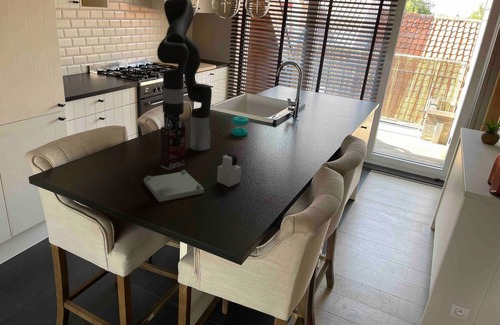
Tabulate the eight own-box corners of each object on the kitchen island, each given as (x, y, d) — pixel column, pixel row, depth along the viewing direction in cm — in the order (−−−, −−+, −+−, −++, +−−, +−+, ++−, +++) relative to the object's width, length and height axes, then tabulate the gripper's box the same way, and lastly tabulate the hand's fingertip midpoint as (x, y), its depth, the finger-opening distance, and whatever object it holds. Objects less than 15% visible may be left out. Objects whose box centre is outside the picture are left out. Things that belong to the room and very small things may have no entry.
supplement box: (168, 170, 137) (168, 130, 131) (160, 167, 139) (159, 127, 133) (185, 164, 143) (186, 126, 137) (177, 161, 146) (177, 123, 140)
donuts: (232, 115, 217) (249, 116, 217) (231, 131, 221) (248, 132, 221) (231, 119, 208) (248, 121, 208) (230, 136, 212) (247, 137, 212)
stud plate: (185, 175, 156) (185, 169, 155) (203, 193, 143) (204, 186, 141) (144, 182, 147) (143, 175, 146) (159, 202, 133) (159, 194, 132)
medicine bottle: (228, 177, 158) (229, 151, 154) (240, 182, 154) (242, 156, 150) (216, 181, 153) (218, 155, 149) (229, 187, 149) (230, 160, 145)
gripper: (190, 104, 128) (190, 149, 134) (175, 95, 139) (175, 137, 146) (170, 105, 124) (170, 151, 131) (156, 96, 135) (157, 139, 142)
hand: (173, 143), depth 138 cm, fingers closed on supplement box, 6 cm apart
